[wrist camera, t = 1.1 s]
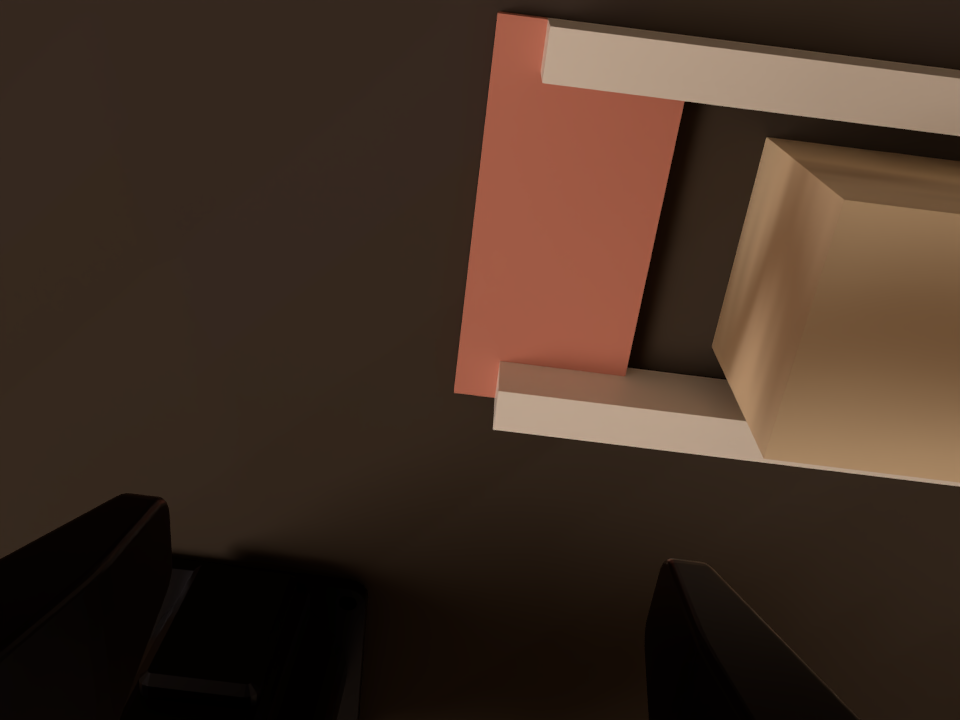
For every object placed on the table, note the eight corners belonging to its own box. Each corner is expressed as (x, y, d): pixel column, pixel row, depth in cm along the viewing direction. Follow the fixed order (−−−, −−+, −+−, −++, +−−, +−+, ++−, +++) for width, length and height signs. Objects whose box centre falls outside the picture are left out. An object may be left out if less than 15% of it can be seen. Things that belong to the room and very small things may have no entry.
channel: (1248, 480, 21) (1314, 529, 20) (455, 383, 21) (449, 424, 19) (1463, 134, 18) (1570, 156, 16) (498, 10, 17) (495, 19, 16)
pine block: (916, 370, 21) (1025, 490, 16) (710, 345, 20) (763, 458, 16) (995, 165, 18) (1148, 238, 14) (765, 136, 18) (844, 200, 14)
